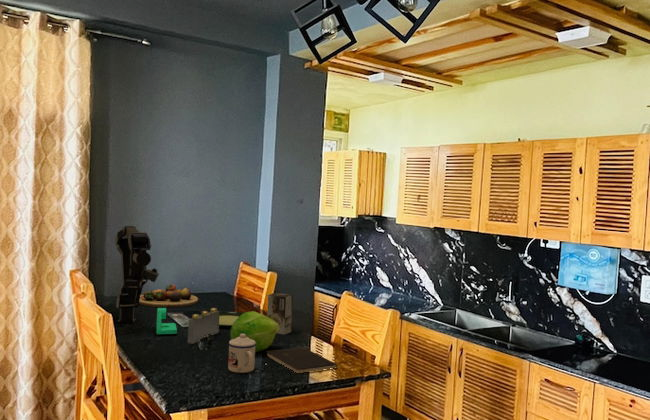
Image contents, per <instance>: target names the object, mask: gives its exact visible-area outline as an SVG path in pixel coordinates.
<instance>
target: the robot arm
mask: <svg viewBox="0 0 650 420" xmlns="http://www.w3.org/2000/svg"><path fill="white" fill-rule="evenodd" d="M114 242H115V243H114V244H115V245H116V249H117V251H118V253H119V255H120V258H121V259H120V260H121V261H120V263H121V279H122V281H121V283H122V286H121V288H120V290H119V292H118V295H117V298H116V301H115V306H116V308H117V310H118V309H119V319H118V320H117V321H116V322H117V323H126V324H127V323H129V324H131V323H134V322H135V321H136V320H137V319H136V318H134V316H135V315H134V314H135V308H139V307H140V304H139V301H140V295H142V291H143V288H144V286H145V285H146V284H147V283H148V281H151V282H152V283H156V281H157V280H158V277H159V275H160V274H159V272H158V269H156V268H152V269H148V268H147V266H148V265H149V264H150V263H151V261H152V256H151V255H150V253H148V251H150V250H151V247H152V243H151V238H150V236H149V235H148V233H147V232H141V231H139V230H138V229H137V227H136V226H134V225H125V226H123V227H122V229H121V230H120V231H117V233H116V236H115V240H114Z"/></svg>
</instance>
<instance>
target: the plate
mask: <svg viewBox="0 0 650 420" xmlns="http://www.w3.org/2000/svg"><path fill="white" fill-rule="evenodd" d="M219 311H220V310H219ZM243 313H245V312H242V311H231V310H230V311H226V310H225V311H223V310H222V311H220V315H219V327H224V328H225V327H231V328H232V325H233V323H234V322H235V321H236V320H237V318H238V317H239V316H241V315H242V314H243ZM201 315H202V313H201V314H199V316H201Z"/></svg>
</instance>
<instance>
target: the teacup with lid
mask: <svg viewBox="0 0 650 420" xmlns="http://www.w3.org/2000/svg"><path fill="white" fill-rule="evenodd" d="M255 346H256V342H255V341H254V340H252V339H250V338H248V337H246V334H240V337H237V338H235V339H230V340H229V342H228V364H227V365H228V367H227V368H228V370H229V372H234V373H242V374H244V373H250V372H252V371H254V369H255V361H256V359H255V358H256V352H255Z"/></svg>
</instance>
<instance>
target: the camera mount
mask: <svg viewBox="0 0 650 420" xmlns="http://www.w3.org/2000/svg"><path fill="white" fill-rule="evenodd" d="M156 308H157V309H156V321H155V322H156V323H155V329H156V330H155V332H156V335H174V334H178V331H177V330H178V329H177V324H176V323H175V322H168V323H167V322H165V323H164V322H162V320H163V319H164V320H166V319H167V308H162V307H156Z"/></svg>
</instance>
